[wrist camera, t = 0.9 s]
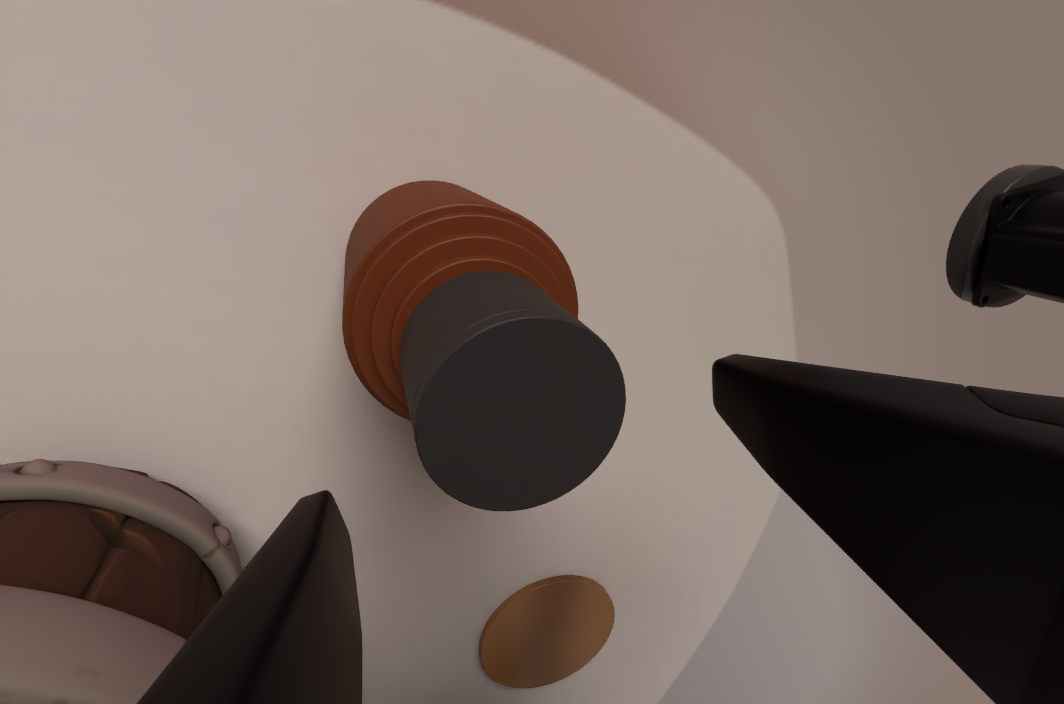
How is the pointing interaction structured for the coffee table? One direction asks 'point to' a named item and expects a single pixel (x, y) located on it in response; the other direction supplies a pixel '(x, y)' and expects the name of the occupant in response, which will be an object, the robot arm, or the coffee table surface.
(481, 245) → the bottle
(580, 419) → the cap
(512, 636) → the coaster
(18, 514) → the flowerpot
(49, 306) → the coffee table surface
